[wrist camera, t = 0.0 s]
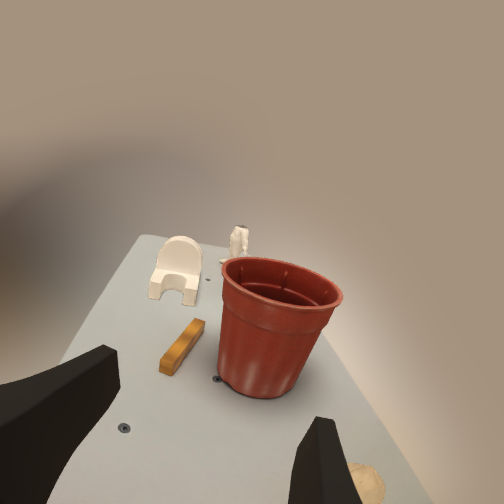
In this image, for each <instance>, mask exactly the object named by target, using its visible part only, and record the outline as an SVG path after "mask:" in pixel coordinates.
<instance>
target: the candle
mask: <svg viewBox="0 0 504 504" xmlns="http://www.w3.org/2000/svg"><path fill="white" fill-rule="evenodd" d="M347 465H348V468H349V471H350V473H351V476H352V479H353V481H354V484H355V487H356V489H357V491H358V494H359V496H360V498H361V500H362V503H363V504H380V503H381V502H382V501H383V499H384V496H385V485H384V482H383V480H382V479H381V477H380V476H379V474H378V473H377V472H376V471H375V469H374V468H373V467H371V466H365V465H361V464H356V463H347Z"/></svg>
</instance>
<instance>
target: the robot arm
mask: <svg viewBox="0 0 504 504" xmlns="http://www.w3.org/2000/svg"><path fill="white" fill-rule="evenodd" d="M120 388H121V387H120V378H119V368H118V357H117V351H116V350H114V349H112V348H110V347H108V346H106V345H101V346H99V347H97V348H95V349H93V350H91V351H89V352H86V353H84V354H82V355H80V356H78V357H76V358H74V359H72V360H70V361H67V362H65V363H63V364H61V365H58V366H56V367H54V368H52V369H49V370H46V371H44V372H41V373H39V374H36V375H33V376H31V377H28V378H25V379H21V380H18V381H14V382H10V383H7V384H2V385H0V504H46V503H47V501H48V499H49V496H50V494H51V492H52V490H53V488H54V486H55V484H56V482H57V480H58V478H59V476H60V474H61V473H62V471H63V469H64V467H65V466H66V464H67V462H68V461H69V459H70V457H71V456H72V454H73V453H74V451H75V450H76V448H77V447H78V446H79V444H80V443H81V442H82V441H83V439H84V438H85V437H86V436H87V434H88V433H89V432H90V431H91V430H92V428H93V427H94V426H95V425H96V423H97V422H98V421H99V420H100V418H101V417H102V416H103V415H104V413H105V412H106V411H107V410H108V408H109V407H110V405H111V403H112V402H113V400H114V399H115V397H116V395H117V393H118V392H119V390H120ZM288 504H363V503H362V500H361V498H360V496H359V494H358V491H357V489H356V487H355V484H354V481H353V479H352V476H351V473H350V471H349V468H348V465H347V462H346V459H345V456H344V453H343V450H342V446H341V443H340V440H339V436H338V432H337V429H336V425H335V422H334V420H332V419H327V418H322V417H317V416H316V417H315V419H314V421H313V422H312V424H311V426H310V428H309V429H308V431H307V433H306V434H305V436H304V438H303V439H302V441H301V443H300V444H299V446H298V448H297V452H296V456H295V460H294V465H293V469H292V475H291V483H290V491H289V500H288Z"/></svg>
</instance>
